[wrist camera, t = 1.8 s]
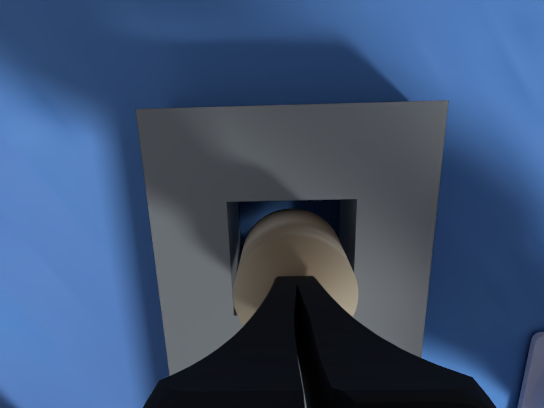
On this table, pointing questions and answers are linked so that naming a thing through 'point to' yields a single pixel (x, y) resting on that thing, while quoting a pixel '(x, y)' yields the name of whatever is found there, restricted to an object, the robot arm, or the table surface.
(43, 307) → the table surface
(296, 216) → the birch plunger
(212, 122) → the block
